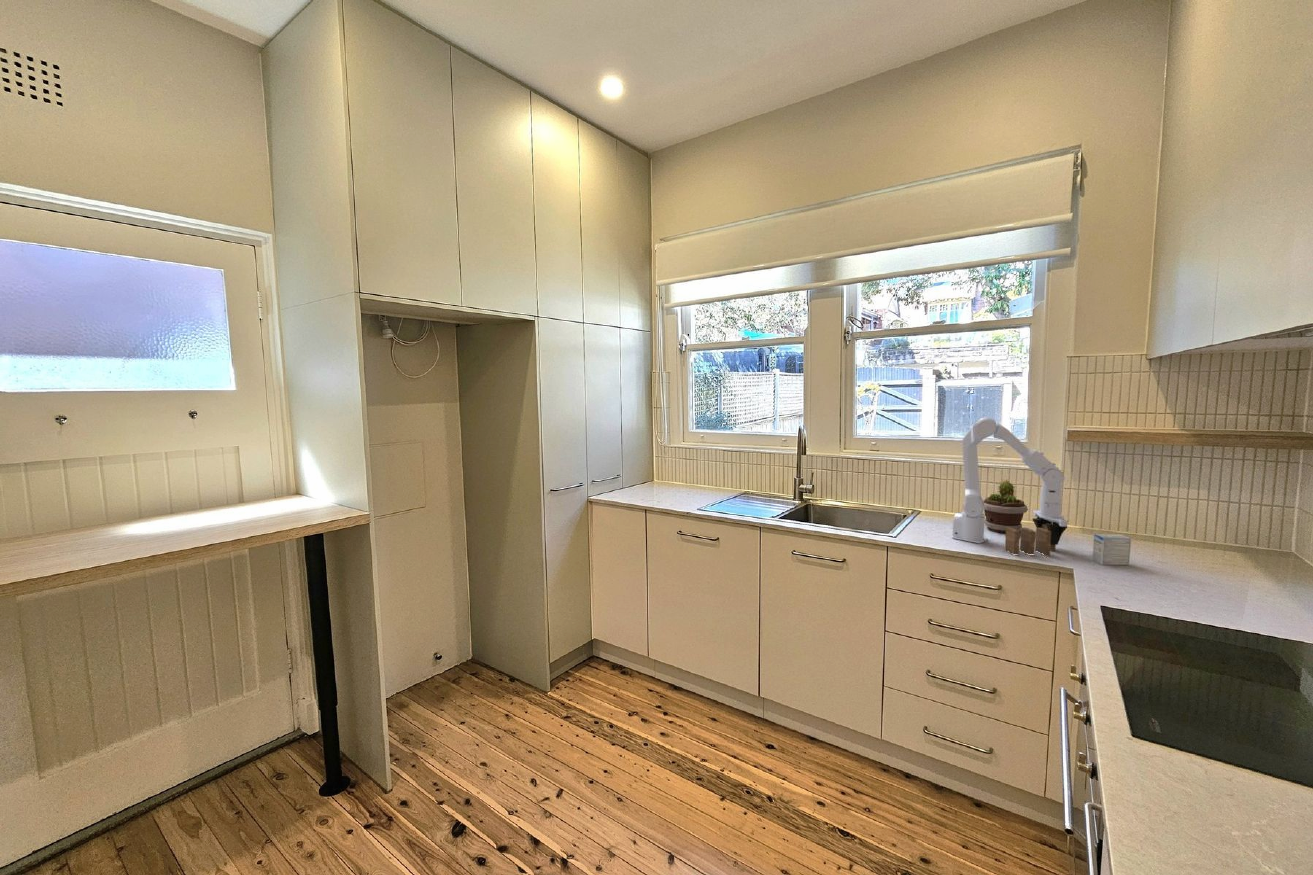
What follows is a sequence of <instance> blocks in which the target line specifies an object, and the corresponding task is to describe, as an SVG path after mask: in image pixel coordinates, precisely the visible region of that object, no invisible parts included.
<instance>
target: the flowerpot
mask: <svg viewBox="0 0 1313 875" xmlns="http://www.w3.org/2000/svg"><path fill="white" fill-rule="evenodd" d="M997 489H999V490H997V493H996V492H994V493H990V496H989V497H988V496H987V497H986V498H985V499H983V501H984V510H983V512H984V515H985V522H984V526H986V528H987V529H988V530H989V531H992V532H995V533H1002V534H1006V527H1011V528H1014V529H1016V530H1018V531H1021V528H1023V524H1022V521H1023V519H1024V518H1023V517H1024V514H1026V513H1027V512H1028V511H1029V508H1028V505H1026V504H1025V501H1024V500H1021V499H1017V498H1016V496H1015V495H1016V486H1015V483H1014V484H1013V482H1011V481H1010V480H1009V479H1007V477H1006V480H1005V479H1002V481H1001V482H1000V483H999V485H998V486H997Z"/></svg>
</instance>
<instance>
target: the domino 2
mask: <svg viewBox="0 0 1313 875" xmlns="http://www.w3.org/2000/svg"><path fill="white" fill-rule="evenodd" d="M1035 542H1036V530H1032V529H1030V528H1027V527H1022V528H1021V529H1020V540H1019V551H1020V550H1021V551H1024V552H1025V553H1028V554H1034V555H1035ZM1021 551H1020V552H1021ZM1025 553H1024V554H1025Z"/></svg>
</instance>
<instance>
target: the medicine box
mask: <svg viewBox="0 0 1313 875" xmlns="http://www.w3.org/2000/svg"><path fill="white" fill-rule="evenodd" d="M1131 546H1132V538H1130V537H1128V536H1125V535H1123V534H1113V533H1112V534H1109V533H1108V534H1105V533H1104V534H1103V533H1101V534H1100V533H1098V534H1097V533H1096V534H1093V547H1092V562H1095V563H1097V564H1099V565H1102V566H1106V565H1107V566H1129V565H1130V558H1131V557H1130V556H1131V548H1132V547H1131Z"/></svg>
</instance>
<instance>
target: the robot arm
mask: <svg viewBox="0 0 1313 875" xmlns="http://www.w3.org/2000/svg"><path fill="white" fill-rule="evenodd" d="M991 436H993V438H994V439H998V440H1001V441H1003V442H1005V443H1006V444H1007V445H1008V446H1010V447H1011V448H1012V449H1013V450H1015V451H1016V452H1017V453H1018V454H1020V456H1021V462H1022V463H1023V464H1024V465H1026V466H1027V467H1028V468H1029V469H1030V470H1031V471H1032V472H1033V473H1035V474H1036V475H1038V476H1040V479H1041V480H1042V482H1041V483H1042V484H1041V489H1040V499H1039V500H1040V502H1039V510H1036V509H1035V510H1033V515H1032V516H1034V517H1036V518H1032V522H1033V523H1034V525H1035V529H1036V528H1042V524H1046V526H1047V528H1048V531H1050V532H1051V543H1050V544H1051V545H1056V546H1057V545H1059V541H1060V539H1061V537H1062V535H1063V533H1064V532H1065V531H1066V530H1067V528H1068V521H1069V520H1067V519H1065V516H1064V515H1063V514H1062V513H1061V512H1062V500H1063V498H1062V497H1063V483H1064V481H1065V475H1064V472H1063V471H1061V469H1060V468H1059V467H1058V466H1056V463H1055V462H1054V461H1053V462H1051V461H1050V460H1049V459H1048V458H1047V457H1046V456H1044V452H1043V451H1042V450H1040V451H1039V450H1037V449H1031V448H1029V447H1028V446H1026V445H1025V444H1024V443H1023V442H1022V441H1021V440H1020V439H1019V438H1018V437H1016V435H1014V434H1013V433H1012V432H1011V431H1010V430H1009V429H1007V428H1006V427H1005V426H1004V425H1002V424H1001V423H999V422H996V420H995V419H993V418H991V417H988V416H985V417H980V419H978V420H976V422H974V423H973V424H972V425H971V427H970V428H969V429H968V431H967V432H966V434H965V435H964V437H962V439H961V440H962V441H961V446H962V460H963V463H962V464H963V475H964V476H963V477H964V491H965V492H964V495H965V496H964V497H965V498H964V501H963V505H962V510H963V511H961V513H960V512H956V513H955V514H954V516H953V522H952V536H951V539H953V540H954V539H955V540H961V541H966V542H970V543H976V544H982V543H984V542H986V541H987V540H989V538H988V537H986V536H985V523H984V522H985V520H986V517H985V513H983V512H984V499H983V498H982V495H981V486H980V475H979V474H980V472H979V457H978V445H979V444H980V443H981V442H982V441H984V439H987V438H990V437H991Z"/></svg>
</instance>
